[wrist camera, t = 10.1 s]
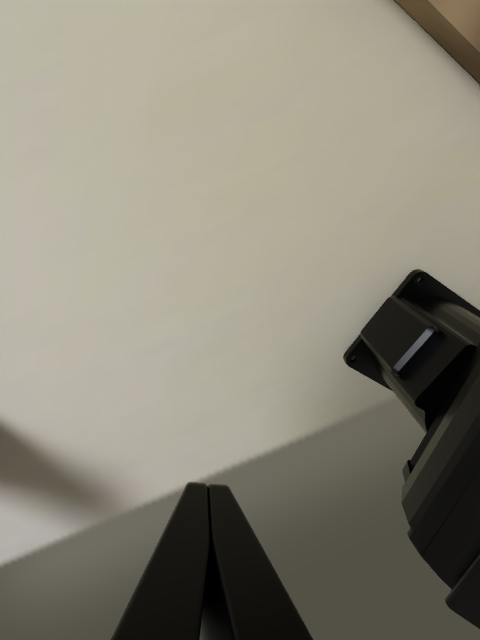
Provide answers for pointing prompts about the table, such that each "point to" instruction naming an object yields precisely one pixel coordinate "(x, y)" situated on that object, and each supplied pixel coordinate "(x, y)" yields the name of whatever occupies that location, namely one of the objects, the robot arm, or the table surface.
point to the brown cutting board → (451, 27)
